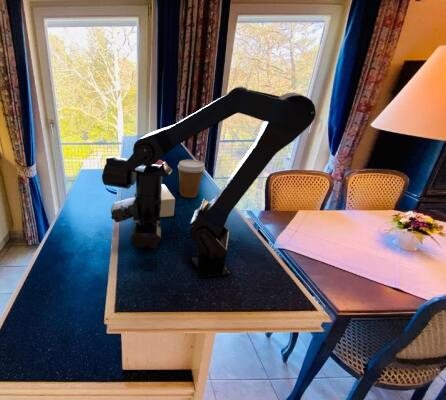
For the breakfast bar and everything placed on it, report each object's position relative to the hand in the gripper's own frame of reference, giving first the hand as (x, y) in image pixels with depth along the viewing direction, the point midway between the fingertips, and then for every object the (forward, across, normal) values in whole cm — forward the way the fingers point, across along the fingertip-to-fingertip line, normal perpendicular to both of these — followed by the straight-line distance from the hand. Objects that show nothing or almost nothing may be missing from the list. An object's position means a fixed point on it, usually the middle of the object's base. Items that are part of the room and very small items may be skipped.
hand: (146, 249), depth 66 cm
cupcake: (+1, -57, +1) cm, 57 cm away
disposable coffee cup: (+1, -37, +14) cm, 40 cm away
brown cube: (+1, -5, 0) cm, 5 cm away
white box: (+1, -24, +2) cm, 25 cm away
